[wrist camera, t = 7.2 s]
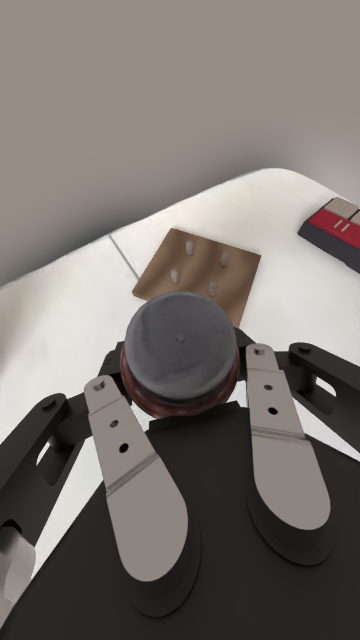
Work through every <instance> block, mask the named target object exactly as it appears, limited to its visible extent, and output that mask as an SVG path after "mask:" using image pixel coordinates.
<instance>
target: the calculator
mask: <svg viewBox="0 0 360 640" xmlns="http://www.w3.org/2000/svg"><path fill="white" fill-rule="evenodd" d="M297 234H298V235H299V236H301V237H303V238H304V239H306V240H307V241H309V242H311V243H312V244H314V245H315V246H317V247H318V248H320V249H322V250H323V251H325V252H327V253H329V254H330V255H332V256H334V257H336V258H337V259H339V260H341V261H343V262H344V263H345V264H346V265H347V266H348V267H350V268H351V269H353V270H355V271H356V272H358V273H359V274H360V209H359V206H357V205H354V204H352V203H350V202H348V201H345V200H343V199H341V198H339V197H336V198H333V199H331V200H330V201H329V202H328V203H326V204H325V205H324V206H323V207H322V208H320V209H319V210H318V211H317V212H316V213H314V214H313V215H312V216H311V217H310V218H308V219H307V220H306V221H305V222H304V223H303V225H302V227H301V228H300V230H299V231H298V233H297Z"/></svg>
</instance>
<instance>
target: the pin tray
mask: <svg viewBox="0 0 360 640" xmlns="http://www.w3.org/2000/svg"><path fill="white" fill-rule="evenodd" d="M260 258H261V255H258V254H255V253H252V252H249V251H245V250H242V249H239V248H235V247H232V246H229V245H226V244H222V243H219V242H216V241H213V240H209V239H206V238H203V237H199V236H196V235H193V234H190V233H186V232H183V231H180V230H176V229H173V228H171V229H170V231H169V232H168V234H167V236H166V237H165V239H164V240H163V242H162V244H161V245H160V247H159V249H158V250H157V252H156V253H155V255H154V257H153V258H152V260H151V262H150V263H149V265H148V266H147V268H146V270H145V271H144V273H143V274H142V276H141V278H140V279H139V281H138V283H137V284H136V286H135V287H134V289H133V291H132V293H133V295H134V296H136V297H139V298H141V299H144V300H147V301H149V300H150V299H152V298H155V297H157V296H159V295H162V294H164V293H168V292H173V291H189V292H194V293H196V294H200V295H203V296H205V297H207V298H209V299H211V300H212V301H214V302H215V303H216V304H218V305H219V306H220V307H221V308H222V309H223V310H224V311H225V313H226V314H227V315H228V317H229V319H230V321H231V322H232V325H233V327H236V328H239V324H240V321H241V318H242V315H243V312H244V309H245V305H246V302H247V299H248V296H249V293H250V290H251V286H252V283H253V280H254V277H255V274H256V271H257V268H258V264H259V261H260Z"/></svg>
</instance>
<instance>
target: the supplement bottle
mask: <svg viewBox="0 0 360 640" xmlns="http://www.w3.org/2000/svg"><path fill="white" fill-rule="evenodd" d="M120 370H121V376H122V380H123V383H124V386H125V388H126V390H127V392H128V394H129V396H130V397H131V399H132V400H133V401H134V402H135V404H136V405H137V406H138V407H139V408H140V409H142V410H143V411H144V412H145V413H147V414H148V415H150V416H152V417H154V418H156V419H160V418H165V417H169V416H195V415H198V414H200V413H202V412H204V411H206V410H208V409H210V408H211V407H213V406H215V405H219V404H223V403H226V402H227V400H228V399H229V397H230V396H231V394H232V392H233V391H234V388H235V386H236V383H237V380H238V377H239V372H240V357H239V349H238V345H237V341H236V334H235V331H234V327H233V325H232V322H231V321H230V319H229V317H228V315H227V314H226V313H225V311H224V310H223V309H222V308H221V307H220V306H219V305H218V304H216V303H215V302H214V301H212V300H211V299H209V298H207V297H205V296H203V295H200V294H196V293H194V292H189V291H173V292H168V293H164V294H162V295H159V296H157V297H155V298H152V299H150V300H149V301H148V302H146V303H145V304H144V305H143V306H141V307H140V308H139V309H138V311H137V312H136V313H135V315H134V316H133V317H132V319H131V321H130V324H129V325H128V328H127V331H126V337H125V341H124V343H123V347H122V350H121V356H120Z"/></svg>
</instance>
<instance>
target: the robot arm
mask: <svg viewBox="0 0 360 640" xmlns="http://www.w3.org/2000/svg"><path fill="white" fill-rule="evenodd" d="M234 331H235V334H236V341H237V345H238V349H239V357H240V372H239V377H238V380H237V381H238V382H239V381H243V380H245V381H246V400H247V408H246V407H240V405H239V404H238V402H237V400H236V401H232V402H228V403H223V404H219V405H215V406H213V407H211V408H210V409H208V410H206V411H204V412H202V413H200V414H198V415H195V416H169V417H165V418H160V419H156V420H152V421H149V430H147V431H145V432H144V431H143V429H142V427H141V425H140V424H139V422H138V420H137V418H136V416H135V415H134V413H133V411H132V409H131V407H130V406H132V399H131V397H130V396H129V394H128V392H127V390H126V388H125V386H124V383H123V380H122V376H121V370H120V356H121V350H122V347H123V343H124V341H122V342H118V343H117V346H116V349H115V350H113V351H110V352H109V353H108V354H107V355H106V357H105V359H104V362H103V364H102V367H101V369H100V372H99V374H98V376H97V377H96V378H94V379H92V380H91V381H89V382H88V383H87V384H86V386H85V387H84V392H83V393H81V394H79V395H76V396H74V397H72V398H69V399H67V398H66V396H65V395H64V394H62V393H57V394H53V395H50V396H48V397H46V398H44V399H43V400H41V401H40V402H39V403H37V404H36V405H35V406H34V407H33V409H32V410H31V411H30V412H29V413H28V414H27V415H26V416H25V418H24V419H23V420H22V421H21V422H20V423H19V424H18V425H17V427H16V428H15V429H14V430H13V431H12V432H11V433H10V434H9V436H8V437H7V438H6V439H5V440H4V441H3V442H2V443H1V445H0V640H360V462H359V461H358V460H356V459H354V458H352V457H350V456H348V455H346V454H344V453H342V452H340V451H338V450H336V449H334V448H333V447H331V446H329V445H327V444H325V443H323V442H321V441H319V440H317V439H315V438H313V437H311V436H309V435H308V434H306V433H304V432H303V429H302V426H301V423H300V420H299V417H298V414H297V410H296V407H295V404H294V401H293V398H294V399H296V400H297V401H298V402H299V403H300V404H302V405H303V406H304V407H305V408H306V409H308V410H309V411H310V412H311V413H312V414H314V415H315V416H316V417H317V418H318V419H319V420H321V421H322V422H323V423H324V424H325V425H327V426H328V427H329V428H330V429H331V430H333V431H334V432H335V433H336V434H337V435H339V436H340V437H341V438H342V439H343V440H345V441H346V442H347V443H348V444H349V445H351V446H352V447H353V448H354V449H355V450H357V451H358V452H359V453H360V367H359V366H357V365H355V364H353V363H350V362H348V361H346V360H344V359H342V358H340V357H338V356H336V355H334V354H332V353H329V352H327V351H325V350H323V349H321V348H319V347H317V346H315V345H312V344H309V343H302V342H298V343H293V344H291V345H290V346H289V351H279V352H277V351H273V349H272V348H271V347H270V346H268V345H265V344H260V343H255V342H254V341H253V340H252V339H251V338H250V337H248V336H247V335H246V334H245V333H244V332H243V331H242V330H240V329H239V328H236V327H234ZM317 377H319V378H320V379H322V380H323V381H325V382H327V383H328V384H330V385H331V386H332V387H333V388H334V390H335V392H336V397H335V396H334V395H332V394H331V393H329V392H328V391H326V390H325V389H323V388H322V387H320V386H319V385H317V384H316V379H317ZM292 397H293V398H292ZM92 435H93V438H94V442H95V446H96V450H97V454H98V459H99V463H100V467H101V471H102V475H103V479H104V480H103V481H102V482H101V484H100V485H99V487H98V488H97V489H96V491H95V492H94V494H93V495H92V496H91V498H90V499H89V501H88V502H87V503H86V505H85V506H84V508H83V509H82V510H81V512H80V513H79V515H78V516H77V517H76V519H75V520H74V522H73V523H72V524H71V526H70V527H69V529H68V530H67V531H66V533H65V534H64V536H63V537H62V538H61V540H60V541H59V543H58V544H57V545H56V547H55V548H54V550H53V551H52V552H51V554H50V555H49V557H48V558H47V559H46V561H45V562H44V564H43V565H42V566H41V568H40V569H39V571H38V572H37V573H36V575H35V576H34V578H33V579H32V580H31V575H32V572H33V569H34V565H35V560H36V552H35V549H34V547H35V545H36V543H37V541H38V539H39V537H40V535H41V533H42V530H43V528H44V526H45V524H46V522H47V520H48V518H49V516H50V514H51V511H52V509H53V507H54V505H55V503H56V501H57V499H58V497H59V495H60V492H61V490H62V488H63V486H64V484H65V482H66V480H67V478H68V475H69V473H70V471H71V469H72V467H73V465H74V463H75V461H76V459H77V456H78V454H79V452H80V450H81V448H82V446H83V444H84V441H85V439H87V438H89V437H91V436H92ZM47 442H49V444H50V446H49V448H48V449H47V451H46V452H45V454H44V456H43V457H42V459H41V460H40V462H39V463H38V465H36V464H37V458H38V456H39V454H40V452H41V451H42V449H43V448H44V446H45V445H46V443H47Z"/></svg>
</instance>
